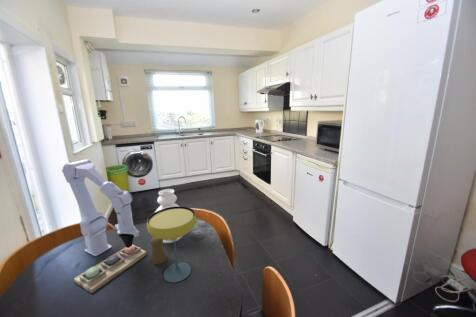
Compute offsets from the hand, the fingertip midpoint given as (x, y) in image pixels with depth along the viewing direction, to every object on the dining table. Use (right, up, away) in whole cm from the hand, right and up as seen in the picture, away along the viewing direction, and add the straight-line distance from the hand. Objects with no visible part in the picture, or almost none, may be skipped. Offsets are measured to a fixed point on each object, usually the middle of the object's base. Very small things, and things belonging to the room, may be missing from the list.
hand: (129, 246), depth 96 cm
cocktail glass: (+25, -7, -10) cm, 28 cm away
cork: (+14, -5, -2) cm, 15 cm away
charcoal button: (-4, -4, -6) cm, 8 cm away
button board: (-4, -6, -6) cm, 9 cm away
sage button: (-7, -6, -13) cm, 16 cm away
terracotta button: (0, -3, +1) cm, 3 cm away
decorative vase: (+14, -1, +16) cm, 21 cm away
